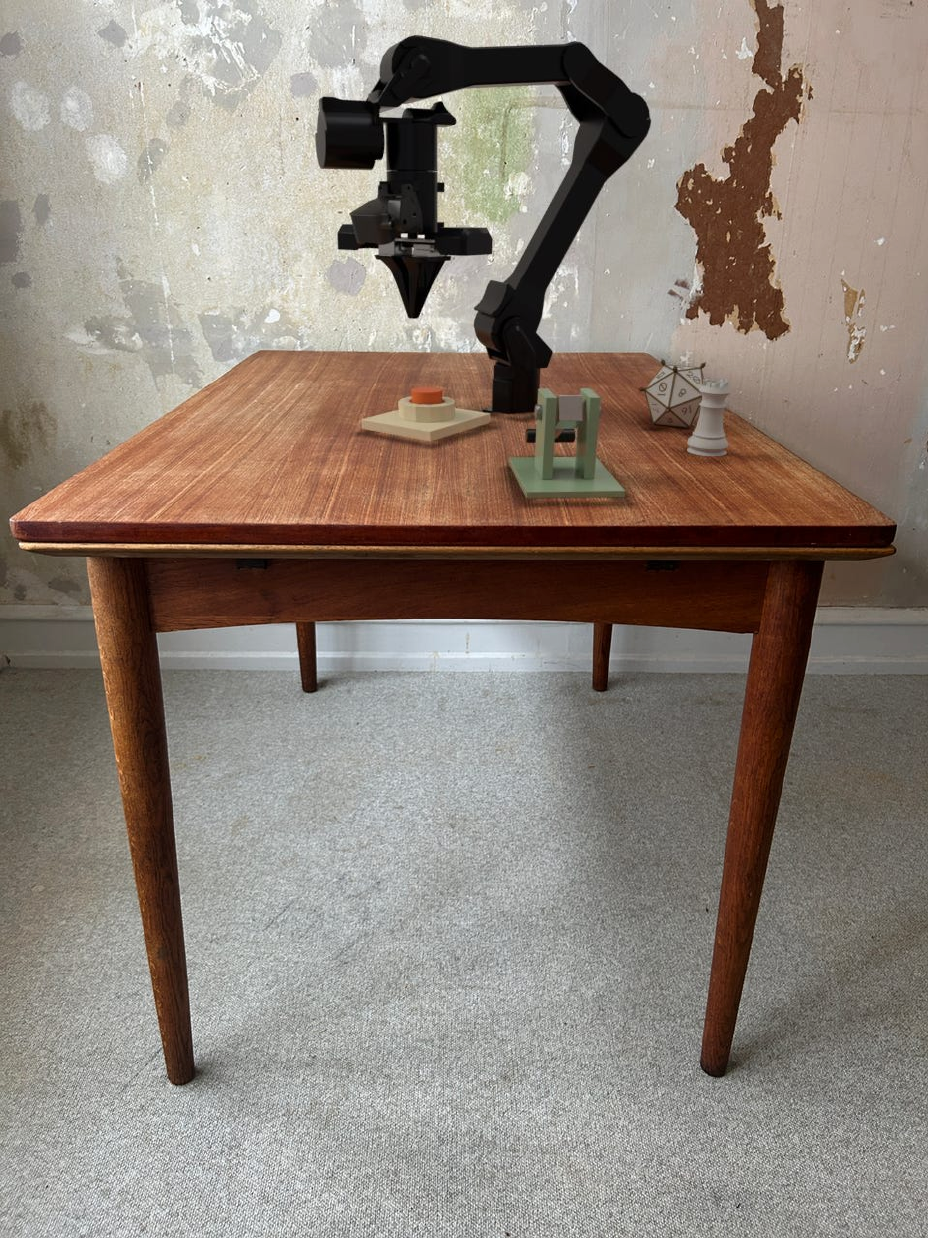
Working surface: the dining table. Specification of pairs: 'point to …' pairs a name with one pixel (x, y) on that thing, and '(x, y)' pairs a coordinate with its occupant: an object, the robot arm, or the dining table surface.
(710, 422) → the rook chess piece
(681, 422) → the game die
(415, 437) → the button block
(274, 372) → the dining table surface
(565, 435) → the lever
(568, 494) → the green lever stand
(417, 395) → the button
